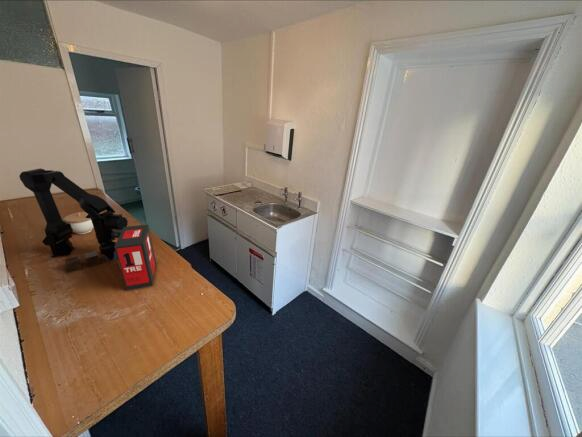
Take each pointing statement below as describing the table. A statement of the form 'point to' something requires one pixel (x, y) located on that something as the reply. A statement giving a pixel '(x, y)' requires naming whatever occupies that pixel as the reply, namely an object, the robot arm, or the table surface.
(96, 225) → the robot arm
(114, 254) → the blue block
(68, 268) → the walnut block
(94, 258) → the walnut block
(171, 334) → the table surface
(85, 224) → the lidded bowl
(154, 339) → the table surface
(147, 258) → the cleaning product box
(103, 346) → the table surface
